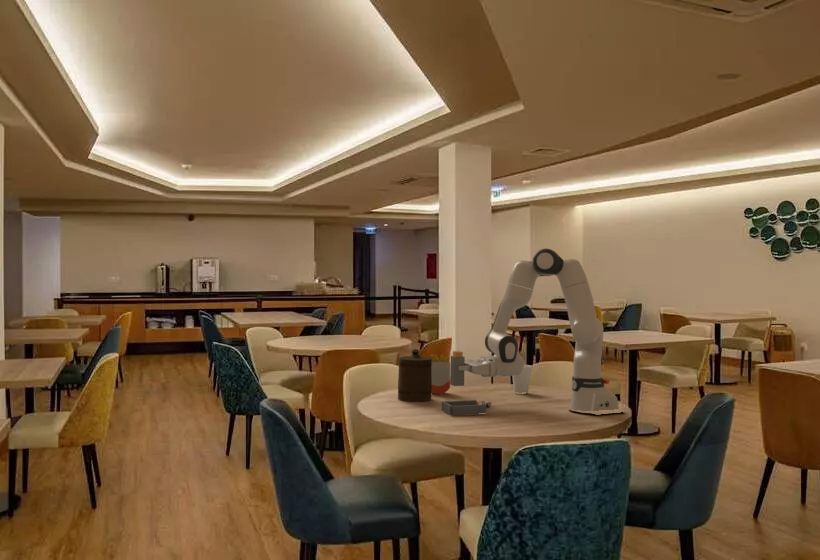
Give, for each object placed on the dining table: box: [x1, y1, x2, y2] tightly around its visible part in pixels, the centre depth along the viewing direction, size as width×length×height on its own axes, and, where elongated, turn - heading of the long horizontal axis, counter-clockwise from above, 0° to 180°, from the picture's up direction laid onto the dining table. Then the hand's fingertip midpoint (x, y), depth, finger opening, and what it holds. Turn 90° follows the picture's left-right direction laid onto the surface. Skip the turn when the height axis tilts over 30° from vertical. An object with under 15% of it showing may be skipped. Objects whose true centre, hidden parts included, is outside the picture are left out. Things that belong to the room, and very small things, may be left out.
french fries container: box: [429, 354, 451, 395], centre depth 321 cm, size 5×11×18 cm, turn 80°
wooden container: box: [397, 348, 432, 403], centre depth 306 cm, size 15×15×22 cm
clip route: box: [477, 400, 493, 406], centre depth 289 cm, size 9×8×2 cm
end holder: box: [441, 399, 487, 416], centre depth 278 cm, size 15×11×4 cm
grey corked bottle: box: [450, 350, 466, 387], centre depth 288 cm, size 4×4×14 cm
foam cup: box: [511, 364, 533, 393], centre depth 326 cm, size 10×9×13 cm
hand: (455, 367), depth 288 cm, fingers closed on grey corked bottle, 4 cm apart
